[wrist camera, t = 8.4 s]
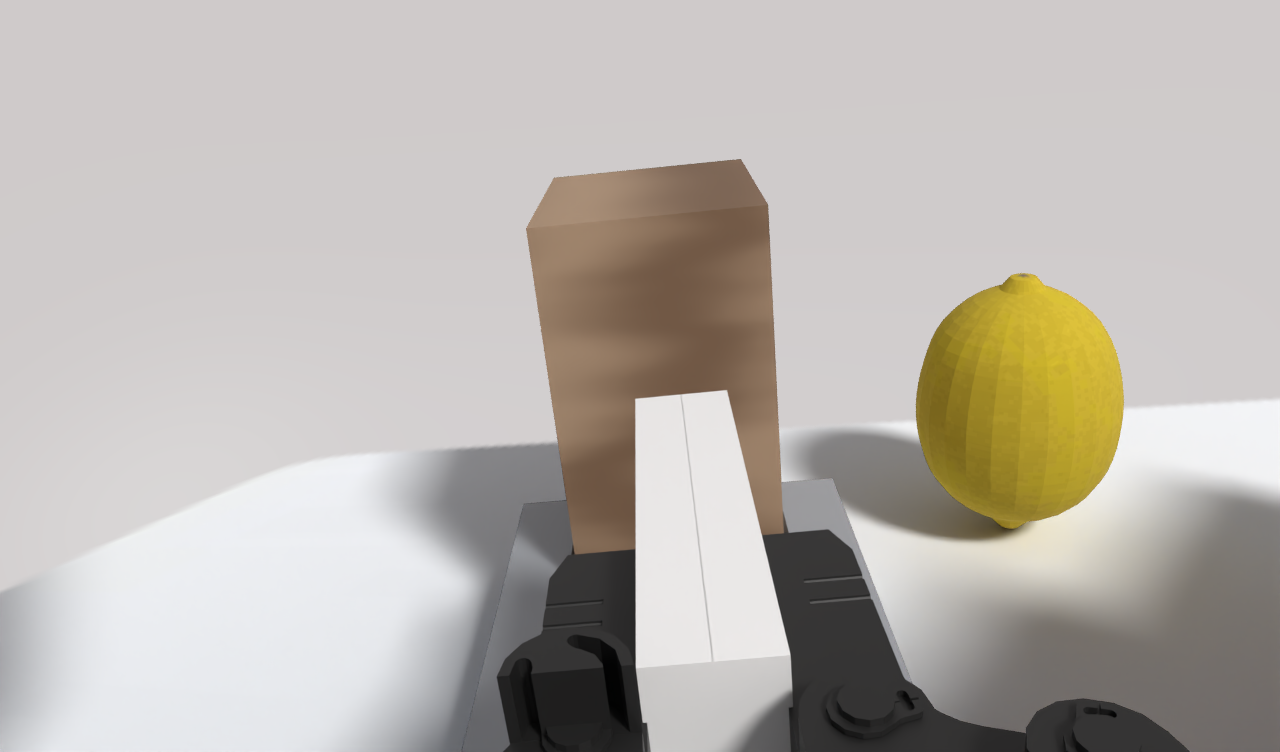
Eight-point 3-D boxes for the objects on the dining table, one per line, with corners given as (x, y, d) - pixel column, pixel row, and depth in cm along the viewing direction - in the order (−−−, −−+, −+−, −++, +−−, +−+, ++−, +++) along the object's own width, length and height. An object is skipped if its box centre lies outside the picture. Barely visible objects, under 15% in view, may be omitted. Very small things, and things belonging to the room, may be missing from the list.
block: (590, 657, 23) (526, 228, 19) (601, 530, 29) (554, 177, 24) (788, 642, 23) (768, 204, 19) (761, 517, 28) (740, 159, 24)
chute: (451, 1055, 15) (415, 929, 14) (538, 590, 27) (523, 503, 26) (985, 1024, 15) (994, 893, 14) (834, 567, 27) (832, 478, 26)
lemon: (878, 529, 29) (877, 283, 26) (979, 465, 32) (989, 239, 29) (1047, 603, 24) (1070, 321, 21) (1144, 522, 27) (1177, 264, 24)
